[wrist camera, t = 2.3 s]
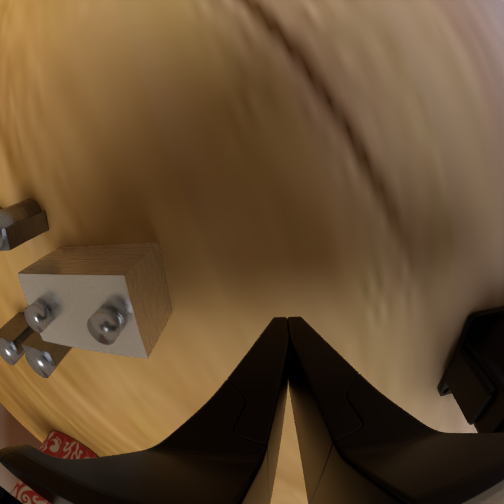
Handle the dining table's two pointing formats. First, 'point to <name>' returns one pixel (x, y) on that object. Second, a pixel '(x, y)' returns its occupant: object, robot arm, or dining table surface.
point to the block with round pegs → (99, 297)
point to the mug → (56, 447)
